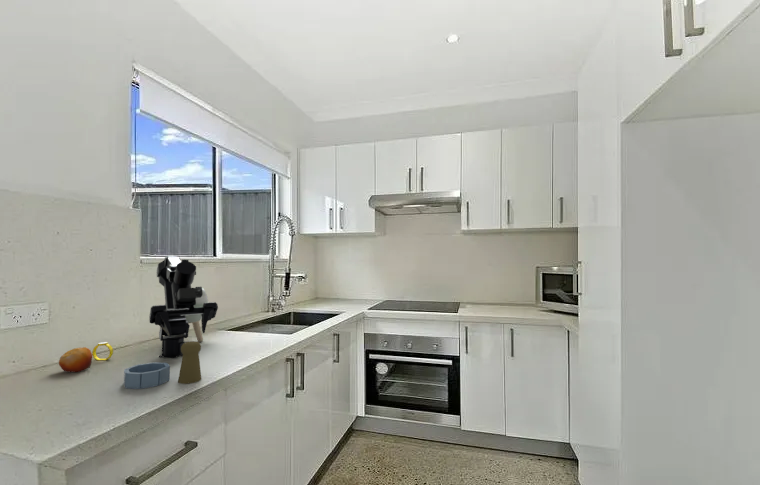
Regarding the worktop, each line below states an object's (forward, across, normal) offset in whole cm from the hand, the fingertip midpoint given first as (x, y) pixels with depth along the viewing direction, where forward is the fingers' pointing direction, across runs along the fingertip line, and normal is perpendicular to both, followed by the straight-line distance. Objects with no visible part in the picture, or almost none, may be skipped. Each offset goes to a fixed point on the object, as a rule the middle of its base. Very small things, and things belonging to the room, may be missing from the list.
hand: (187, 334), depth 110 cm
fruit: (-8, -27, +26) cm, 38 cm away
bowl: (+9, -10, +8) cm, 16 cm away
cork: (+13, 0, +5) cm, 14 cm away
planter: (-24, +8, +42) cm, 49 cm away
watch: (-16, -20, +33) cm, 42 cm away
